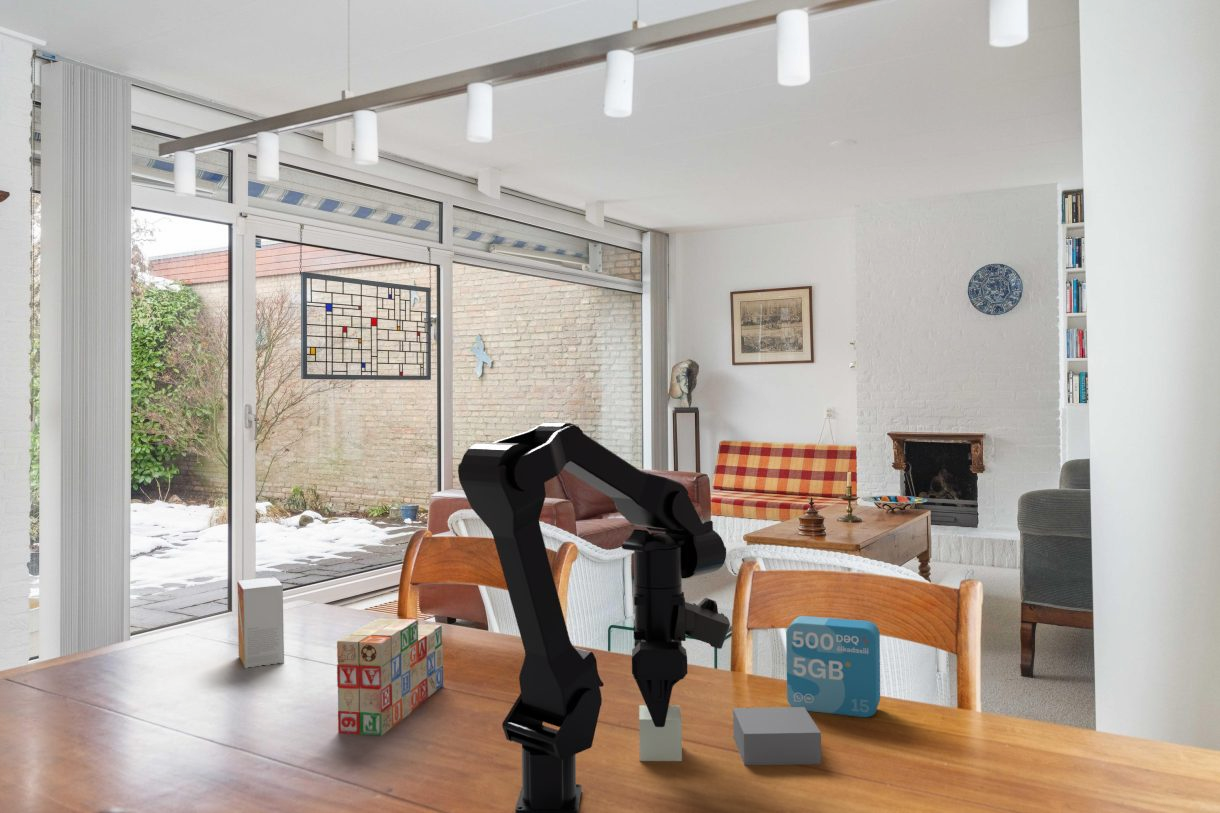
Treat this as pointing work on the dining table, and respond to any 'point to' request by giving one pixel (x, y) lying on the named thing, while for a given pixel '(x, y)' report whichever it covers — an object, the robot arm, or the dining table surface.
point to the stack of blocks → (386, 673)
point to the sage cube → (660, 736)
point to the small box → (260, 622)
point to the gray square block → (776, 736)
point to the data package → (833, 665)
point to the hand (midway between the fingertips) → (659, 713)
